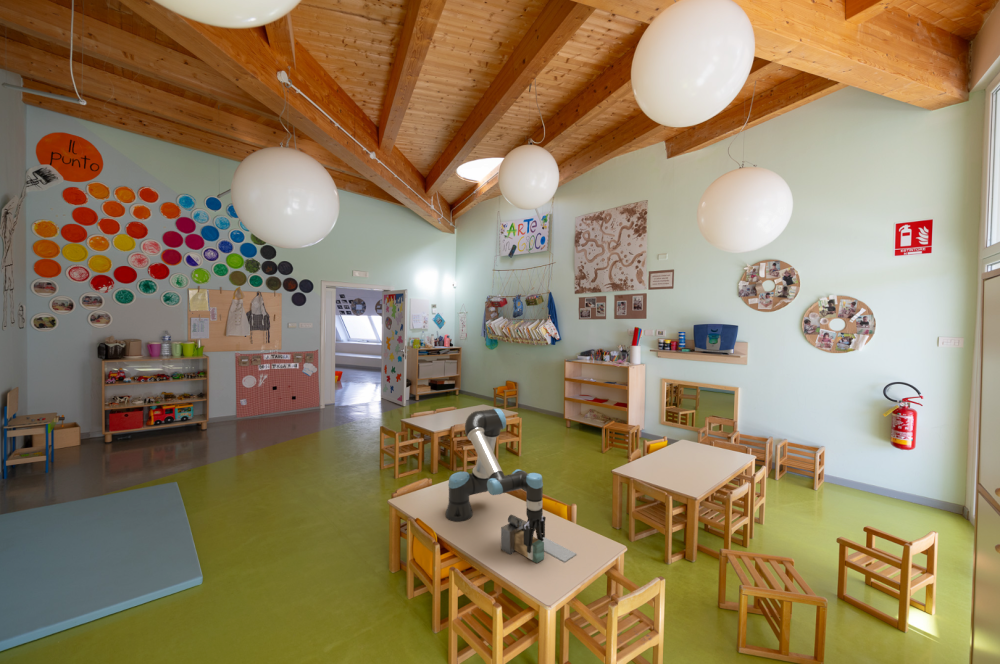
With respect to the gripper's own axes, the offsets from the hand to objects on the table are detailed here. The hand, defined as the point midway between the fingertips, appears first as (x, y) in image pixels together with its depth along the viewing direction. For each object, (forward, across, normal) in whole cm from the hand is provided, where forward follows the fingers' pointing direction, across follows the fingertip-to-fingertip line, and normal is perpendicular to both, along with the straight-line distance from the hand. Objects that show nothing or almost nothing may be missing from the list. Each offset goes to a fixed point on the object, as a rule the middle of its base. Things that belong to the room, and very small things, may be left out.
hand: (534, 556), depth 195 cm
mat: (+1, +12, -1) cm, 12 cm away
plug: (+1, 0, +5) cm, 5 cm away
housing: (+1, 0, +13) cm, 13 cm away
